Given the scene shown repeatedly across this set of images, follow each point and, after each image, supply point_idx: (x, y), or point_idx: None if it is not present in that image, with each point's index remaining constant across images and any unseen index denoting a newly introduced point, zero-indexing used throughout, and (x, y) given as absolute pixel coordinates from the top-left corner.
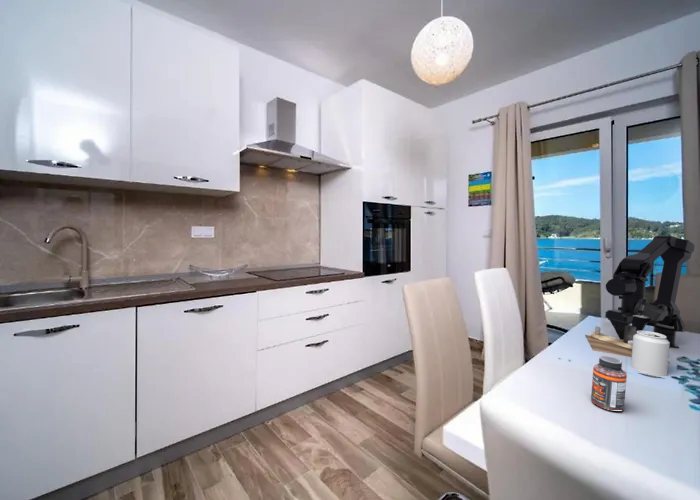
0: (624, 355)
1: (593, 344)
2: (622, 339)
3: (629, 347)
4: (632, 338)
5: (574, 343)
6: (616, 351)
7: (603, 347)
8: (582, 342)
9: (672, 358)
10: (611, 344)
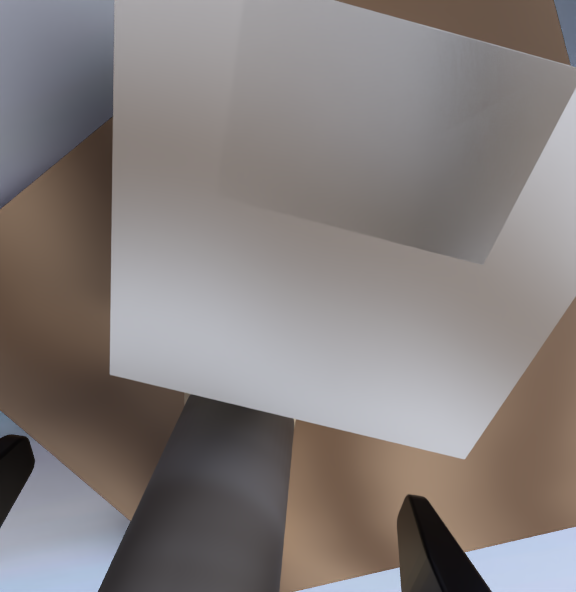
0: None
1: (458, 535)
2: (423, 504)
3: None
4: (262, 461)
5: None
6: (517, 399)
7: (477, 482)
8: None
9: (7, 20)
10: (295, 474)
